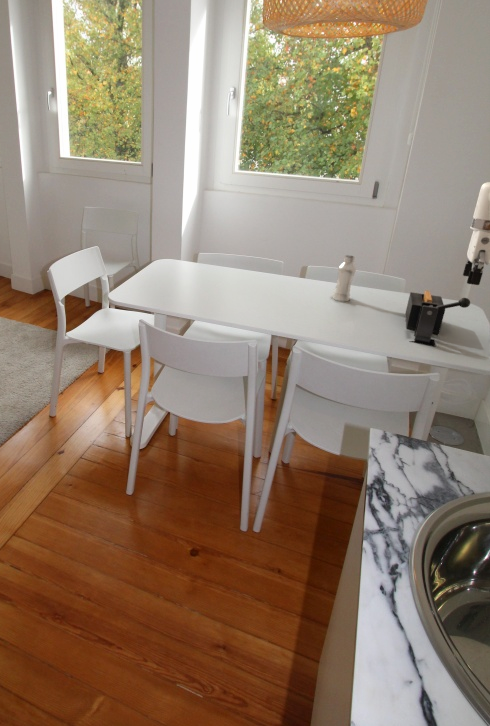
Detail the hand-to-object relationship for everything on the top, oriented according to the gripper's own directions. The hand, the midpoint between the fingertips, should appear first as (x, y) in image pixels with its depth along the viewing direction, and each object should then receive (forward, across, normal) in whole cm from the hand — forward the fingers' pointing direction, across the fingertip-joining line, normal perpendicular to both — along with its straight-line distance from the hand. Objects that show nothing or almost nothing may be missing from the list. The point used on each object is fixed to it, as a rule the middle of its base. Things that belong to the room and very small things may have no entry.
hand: (470, 279), depth 147 cm
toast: (+21, +13, +9) cm, 26 cm away
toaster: (+24, +13, +9) cm, 29 cm away
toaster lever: (+11, 0, +4) cm, 12 cm away
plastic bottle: (+24, +27, +37) cm, 52 cm away
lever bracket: (+24, 0, +9) cm, 26 cm away
